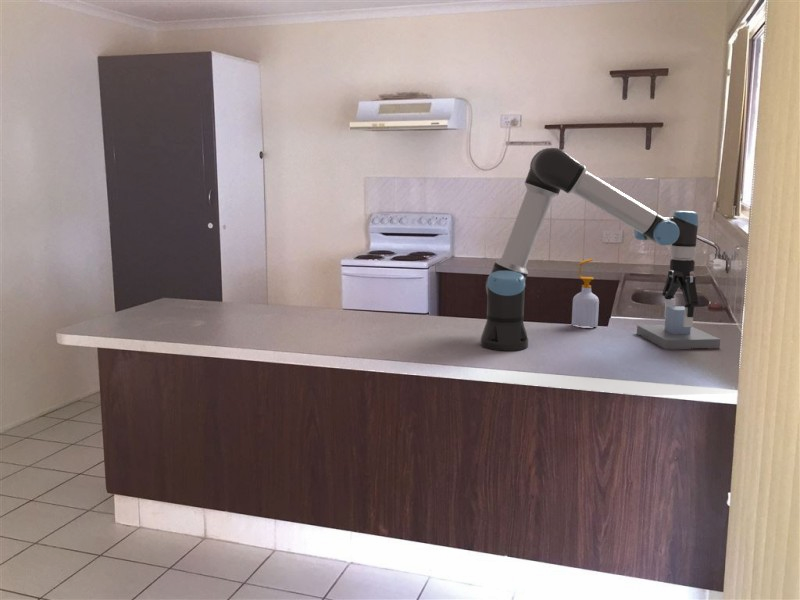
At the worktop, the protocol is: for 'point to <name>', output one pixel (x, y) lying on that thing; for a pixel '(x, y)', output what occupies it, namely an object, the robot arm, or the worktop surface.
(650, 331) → the socket plate
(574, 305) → the soap bottle
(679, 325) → the plug
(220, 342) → the worktop surface
